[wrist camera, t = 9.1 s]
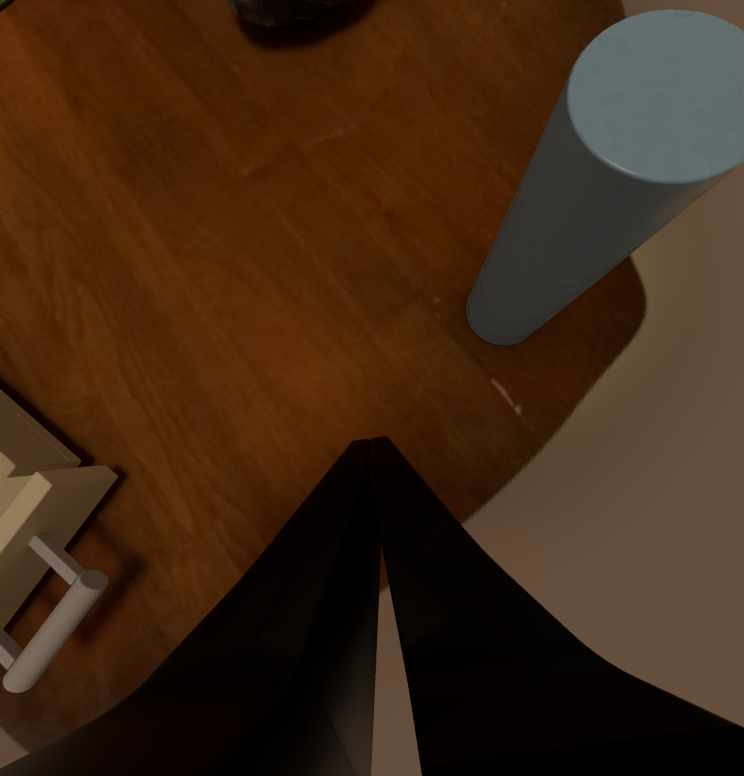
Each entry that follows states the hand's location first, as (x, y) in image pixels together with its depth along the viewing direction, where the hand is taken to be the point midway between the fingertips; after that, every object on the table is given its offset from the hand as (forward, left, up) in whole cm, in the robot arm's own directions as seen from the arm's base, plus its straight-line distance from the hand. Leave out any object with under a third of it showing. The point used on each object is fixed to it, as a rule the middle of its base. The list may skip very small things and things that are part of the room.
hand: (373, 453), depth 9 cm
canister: (+10, -2, -13) cm, 17 cm away
